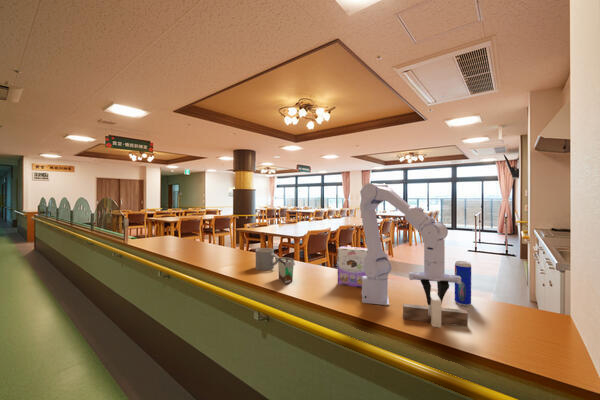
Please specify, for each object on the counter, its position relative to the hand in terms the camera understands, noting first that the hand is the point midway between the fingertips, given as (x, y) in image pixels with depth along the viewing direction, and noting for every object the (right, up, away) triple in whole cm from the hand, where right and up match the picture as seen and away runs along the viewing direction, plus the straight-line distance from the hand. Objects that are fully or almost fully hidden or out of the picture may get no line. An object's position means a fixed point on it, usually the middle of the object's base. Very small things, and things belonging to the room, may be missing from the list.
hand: (434, 304), depth 83 cm
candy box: (-18, -5, +34) cm, 39 cm away
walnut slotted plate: (0, -5, 0) cm, 5 cm away
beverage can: (+17, -5, +14) cm, 23 cm away
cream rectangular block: (0, -5, 0) cm, 5 cm away
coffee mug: (-60, -5, +61) cm, 86 cm away
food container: (-48, -5, +40) cm, 62 cm away
